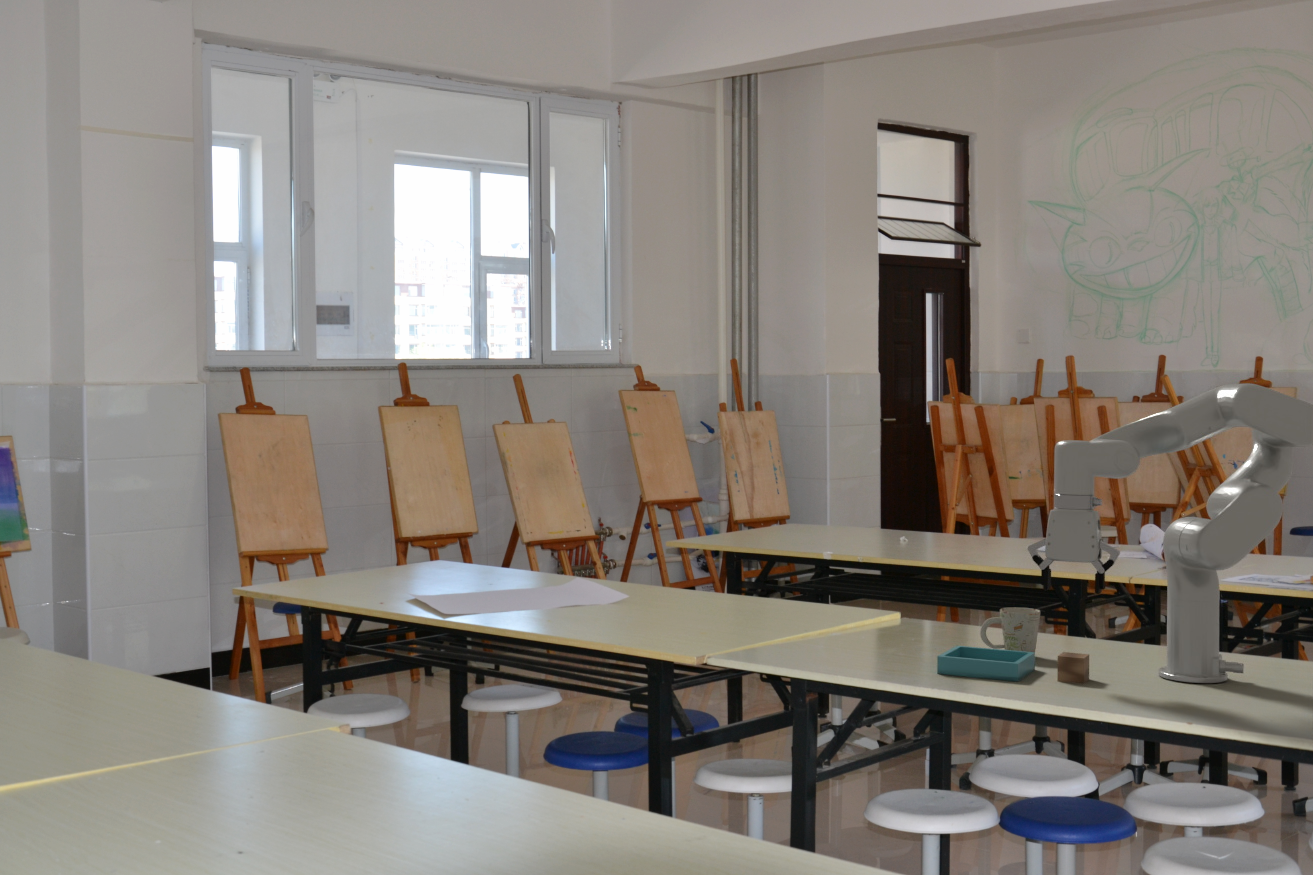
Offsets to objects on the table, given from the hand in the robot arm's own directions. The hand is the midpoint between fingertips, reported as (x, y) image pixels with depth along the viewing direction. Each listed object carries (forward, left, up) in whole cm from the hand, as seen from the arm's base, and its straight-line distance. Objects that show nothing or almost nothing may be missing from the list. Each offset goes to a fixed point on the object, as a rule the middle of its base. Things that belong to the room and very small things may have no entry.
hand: (1072, 591), depth 249 cm
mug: (+17, -19, -18) cm, 31 cm away
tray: (+17, 0, -17) cm, 24 cm away
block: (0, 0, -18) cm, 18 cm away
